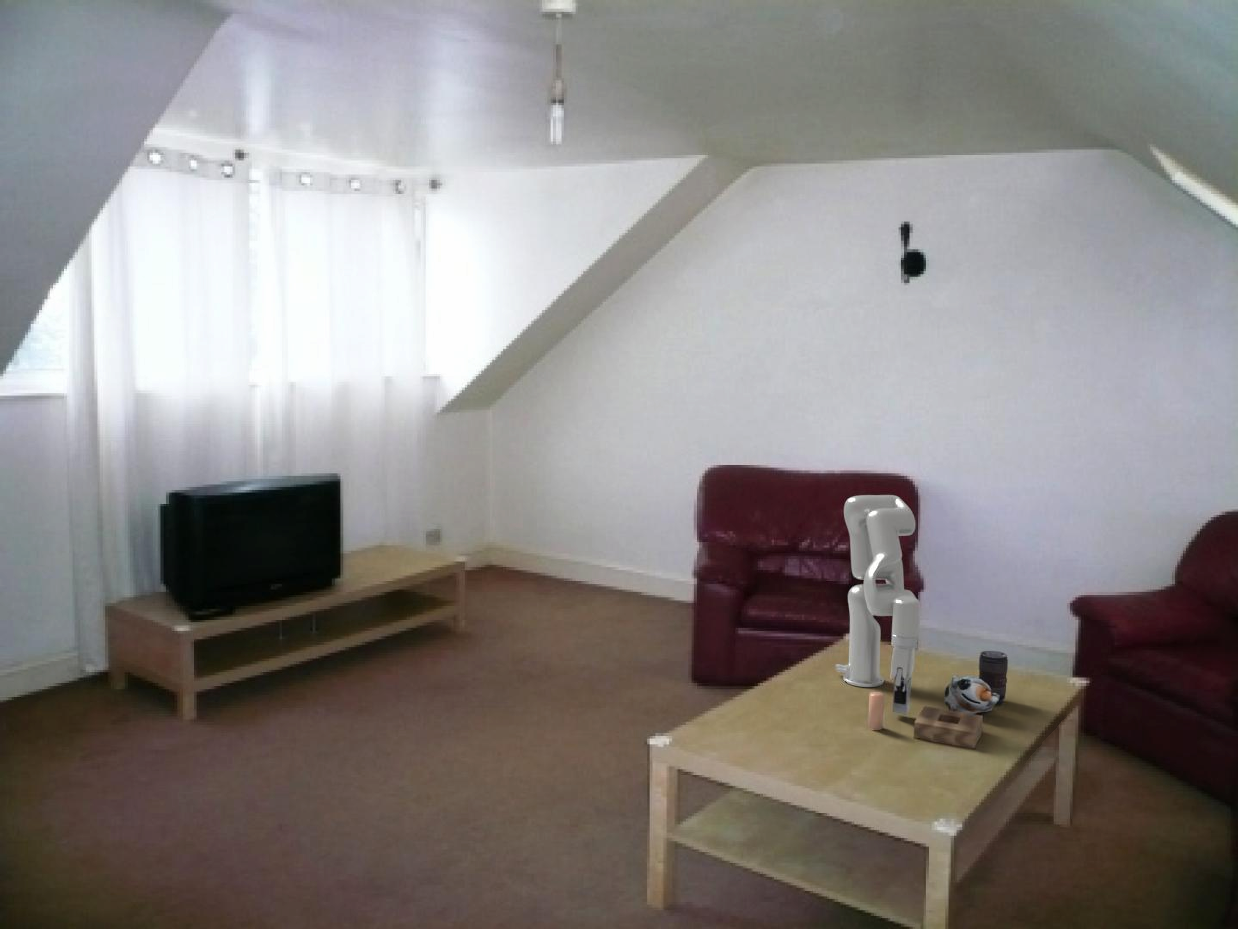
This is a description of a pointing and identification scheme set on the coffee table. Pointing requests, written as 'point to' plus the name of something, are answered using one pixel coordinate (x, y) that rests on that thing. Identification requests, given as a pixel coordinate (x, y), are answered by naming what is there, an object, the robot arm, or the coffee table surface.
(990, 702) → the lucky cat figurine
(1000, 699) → the camera lens
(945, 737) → the bore block
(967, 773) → the coffee table surface
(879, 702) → the round bit
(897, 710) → the square bit
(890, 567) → the robot arm
